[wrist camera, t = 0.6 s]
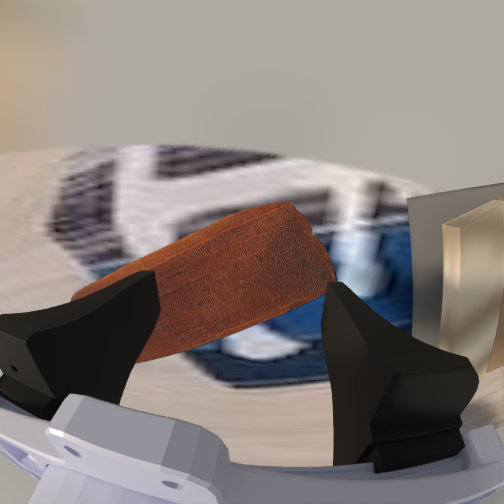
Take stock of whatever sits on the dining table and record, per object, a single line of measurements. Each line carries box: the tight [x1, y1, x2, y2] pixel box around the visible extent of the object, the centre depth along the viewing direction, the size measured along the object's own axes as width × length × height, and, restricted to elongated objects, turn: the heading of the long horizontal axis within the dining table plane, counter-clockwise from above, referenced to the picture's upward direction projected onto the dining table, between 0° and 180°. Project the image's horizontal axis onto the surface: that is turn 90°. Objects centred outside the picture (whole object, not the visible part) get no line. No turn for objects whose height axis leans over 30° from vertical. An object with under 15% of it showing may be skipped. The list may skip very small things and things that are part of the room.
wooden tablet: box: [71, 202, 336, 363], centre depth 25 cm, size 27×10×2 cm, turn 116°
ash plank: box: [438, 200, 504, 381], centre depth 18 cm, size 18×8×2 cm, turn 14°
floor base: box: [407, 183, 504, 373], centre depth 20 cm, size 20×19×2 cm
